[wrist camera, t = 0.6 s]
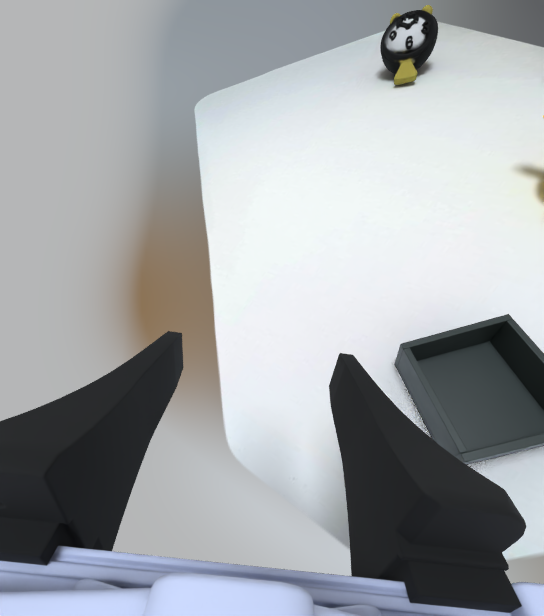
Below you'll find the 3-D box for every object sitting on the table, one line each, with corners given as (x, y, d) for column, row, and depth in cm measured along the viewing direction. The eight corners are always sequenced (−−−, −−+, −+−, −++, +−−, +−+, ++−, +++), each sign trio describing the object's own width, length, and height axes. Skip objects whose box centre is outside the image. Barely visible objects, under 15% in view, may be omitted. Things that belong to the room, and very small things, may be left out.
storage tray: (569, 439, 23) (609, 426, 20) (447, 469, 24) (465, 462, 20) (489, 337, 30) (508, 313, 26) (394, 363, 30) (400, 343, 27)
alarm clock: (373, 100, 76) (360, 31, 69) (415, 80, 78) (407, 11, 71) (405, 84, 65) (394, 1, 59) (454, 62, 67) (448, -22, 60)
